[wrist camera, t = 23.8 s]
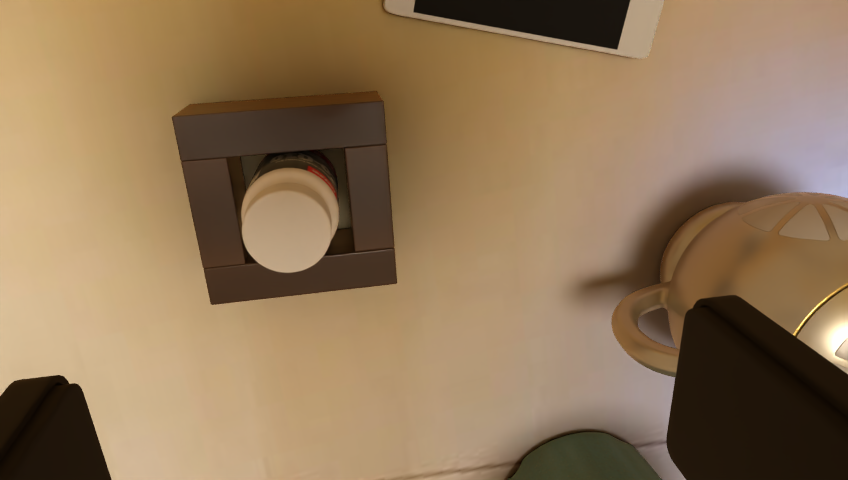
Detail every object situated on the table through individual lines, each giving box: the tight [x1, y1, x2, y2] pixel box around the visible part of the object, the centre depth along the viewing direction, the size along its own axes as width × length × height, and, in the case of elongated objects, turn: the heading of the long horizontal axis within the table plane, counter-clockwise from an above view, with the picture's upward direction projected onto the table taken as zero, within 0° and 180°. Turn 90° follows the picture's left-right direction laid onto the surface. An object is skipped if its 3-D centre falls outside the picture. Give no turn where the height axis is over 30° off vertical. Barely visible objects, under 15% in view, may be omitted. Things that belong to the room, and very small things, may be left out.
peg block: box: [172, 91, 397, 305], centre depth 32 cm, size 10×10×4 cm
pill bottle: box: [241, 150, 339, 273], centre depth 30 cm, size 5×5×8 cm
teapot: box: [612, 192, 848, 377], centre depth 33 cm, size 18×14×16 cm
